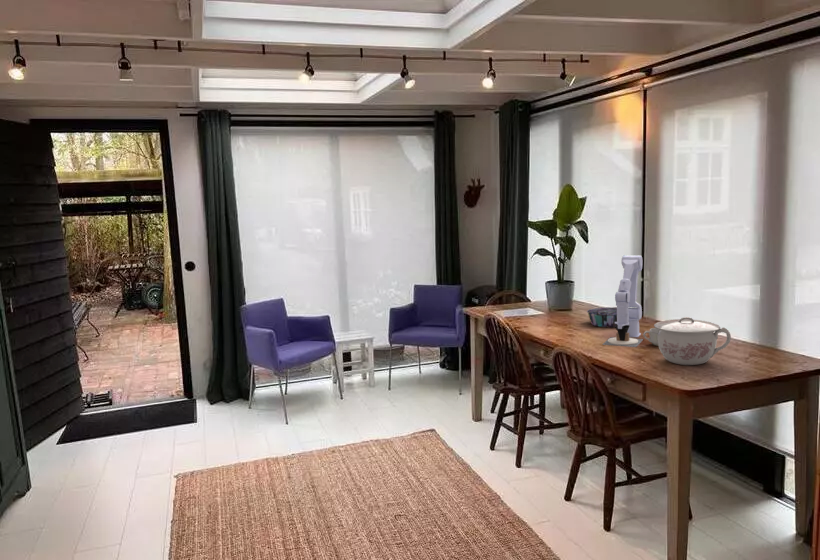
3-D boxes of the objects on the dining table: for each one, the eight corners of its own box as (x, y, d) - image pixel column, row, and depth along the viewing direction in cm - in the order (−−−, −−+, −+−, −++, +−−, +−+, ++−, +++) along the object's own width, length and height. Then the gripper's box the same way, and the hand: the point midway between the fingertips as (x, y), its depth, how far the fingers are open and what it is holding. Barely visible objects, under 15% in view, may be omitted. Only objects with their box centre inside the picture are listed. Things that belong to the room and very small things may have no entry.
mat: (610, 337, 329) (610, 337, 329) (643, 340, 320) (643, 339, 320) (602, 345, 314) (602, 344, 314) (636, 347, 305) (636, 347, 305)
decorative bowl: (639, 330, 350) (641, 313, 349) (591, 329, 351) (592, 312, 350) (625, 322, 376) (626, 306, 374) (580, 320, 377) (581, 305, 375)
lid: (611, 337, 327) (611, 329, 326) (640, 339, 319) (640, 330, 319) (604, 343, 314) (604, 334, 314) (635, 346, 306) (634, 336, 306)
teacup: (670, 342, 311) (670, 327, 310) (673, 347, 301) (673, 332, 300) (641, 342, 315) (641, 327, 314) (644, 347, 305) (643, 331, 304)
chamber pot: (640, 359, 283) (640, 316, 280) (683, 351, 294) (684, 309, 291) (690, 373, 257) (690, 326, 255) (735, 363, 268) (736, 318, 266)
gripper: (617, 311, 323) (618, 336, 325) (611, 316, 311) (611, 342, 313) (631, 312, 319) (631, 337, 321) (625, 317, 307) (626, 343, 309)
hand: (622, 339), depth 317 cm, fingers closed on lid, 2 cm apart
